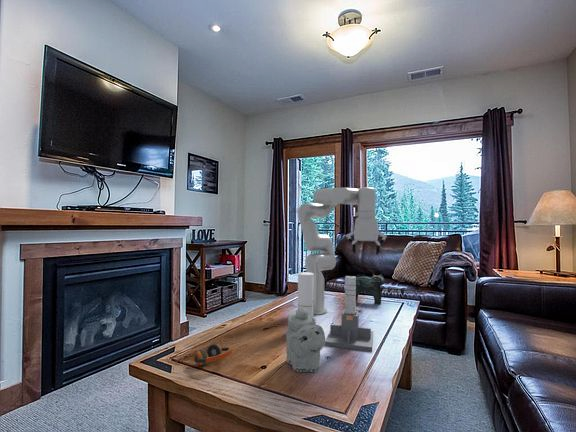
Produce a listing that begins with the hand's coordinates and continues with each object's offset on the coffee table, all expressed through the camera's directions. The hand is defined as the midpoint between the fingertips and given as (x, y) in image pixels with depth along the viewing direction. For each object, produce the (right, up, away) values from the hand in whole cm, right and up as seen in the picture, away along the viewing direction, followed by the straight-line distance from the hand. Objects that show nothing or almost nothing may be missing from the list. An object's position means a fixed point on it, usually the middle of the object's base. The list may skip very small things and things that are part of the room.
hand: (365, 253), depth 137 cm
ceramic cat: (+14, -37, +53) cm, 66 cm away
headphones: (-63, -34, -30) cm, 78 cm away
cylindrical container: (-27, -35, +4) cm, 44 cm away
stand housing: (-9, -35, -9) cm, 37 cm away
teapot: (-29, -34, -35) cm, 56 cm away
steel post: (-9, -27, -9) cm, 29 cm away
